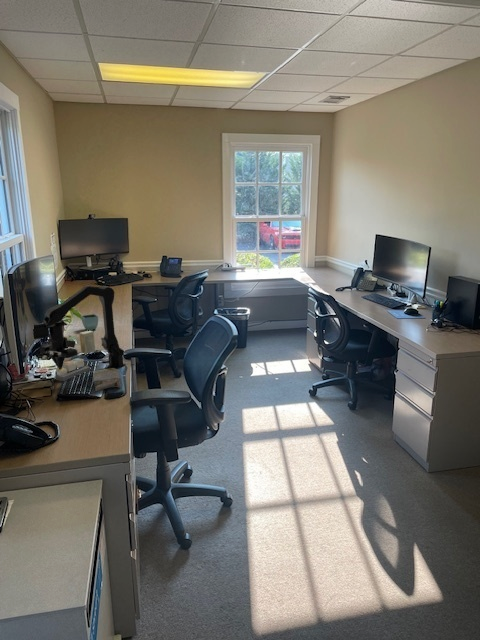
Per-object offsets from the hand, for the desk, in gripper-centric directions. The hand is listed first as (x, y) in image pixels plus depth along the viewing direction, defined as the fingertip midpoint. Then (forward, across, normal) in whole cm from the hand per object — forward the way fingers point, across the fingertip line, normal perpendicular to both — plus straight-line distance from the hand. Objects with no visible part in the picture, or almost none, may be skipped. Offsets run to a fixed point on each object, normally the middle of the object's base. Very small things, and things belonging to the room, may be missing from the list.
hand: (60, 368), depth 211 cm
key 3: (+4, 0, 0) cm, 4 cm away
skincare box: (+4, +17, -32) cm, 36 cm away
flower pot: (+5, +57, -71) cm, 91 cm away
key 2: (+2, 0, -5) cm, 5 cm away
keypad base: (+4, 0, -5) cm, 6 cm away
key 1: (+2, 0, -10) cm, 10 cm away
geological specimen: (+5, -25, -4) cm, 26 cm away
